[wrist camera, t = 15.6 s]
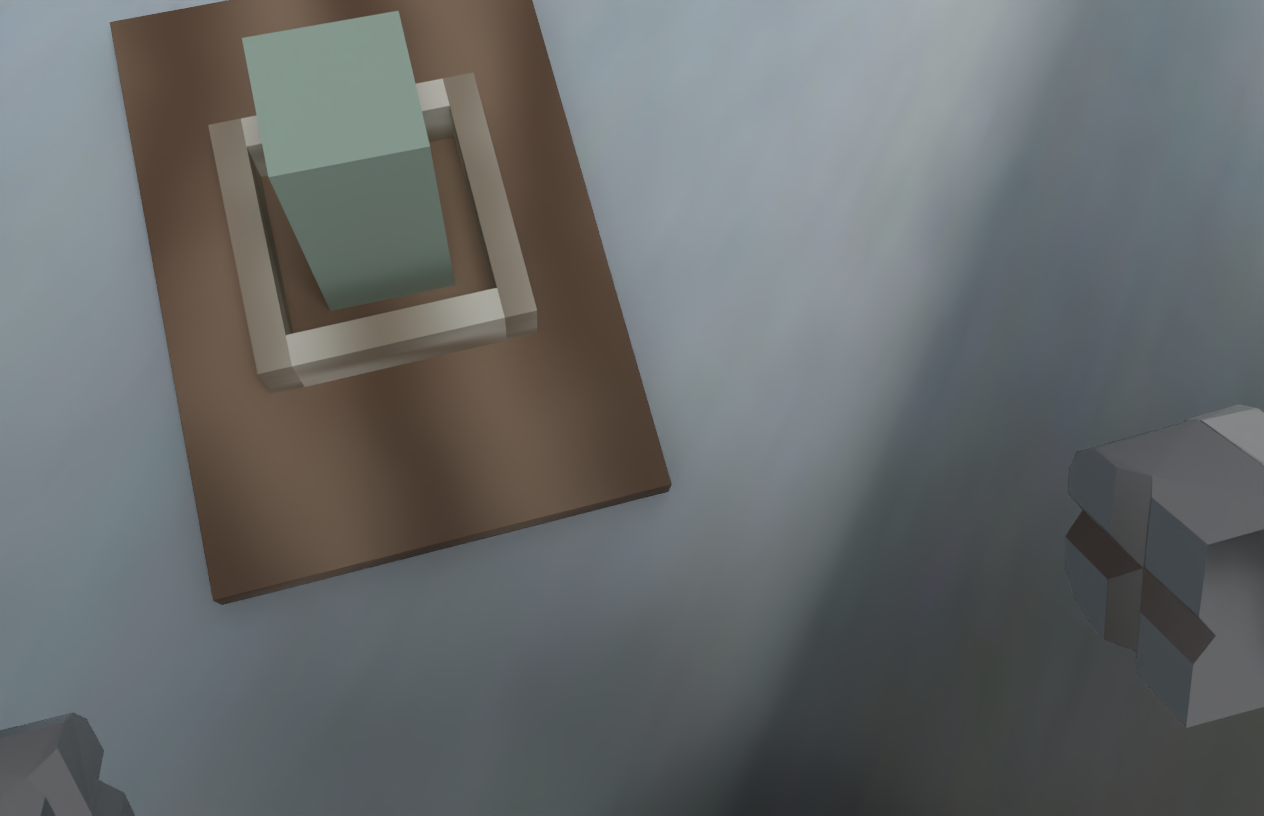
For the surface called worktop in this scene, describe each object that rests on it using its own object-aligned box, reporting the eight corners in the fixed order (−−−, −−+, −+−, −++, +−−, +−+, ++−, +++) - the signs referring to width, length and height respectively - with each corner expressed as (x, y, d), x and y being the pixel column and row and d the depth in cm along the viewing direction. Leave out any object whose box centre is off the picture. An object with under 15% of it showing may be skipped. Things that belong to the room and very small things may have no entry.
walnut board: (517, -35, 44) (515, -92, 41) (668, 491, 38) (678, 468, 35) (119, 39, 42) (88, -15, 39) (222, 604, 36) (194, 590, 34)
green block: (429, 175, 40) (398, 10, 31) (455, 285, 39) (429, 146, 30) (308, 198, 39) (241, 38, 31) (330, 311, 38) (268, 177, 30)
